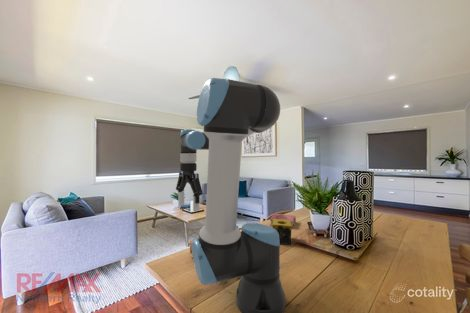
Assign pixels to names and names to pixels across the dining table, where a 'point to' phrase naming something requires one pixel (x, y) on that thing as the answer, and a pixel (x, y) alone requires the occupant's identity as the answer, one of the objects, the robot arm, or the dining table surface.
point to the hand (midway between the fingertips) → (188, 207)
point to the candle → (283, 230)
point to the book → (284, 218)
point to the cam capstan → (190, 246)
